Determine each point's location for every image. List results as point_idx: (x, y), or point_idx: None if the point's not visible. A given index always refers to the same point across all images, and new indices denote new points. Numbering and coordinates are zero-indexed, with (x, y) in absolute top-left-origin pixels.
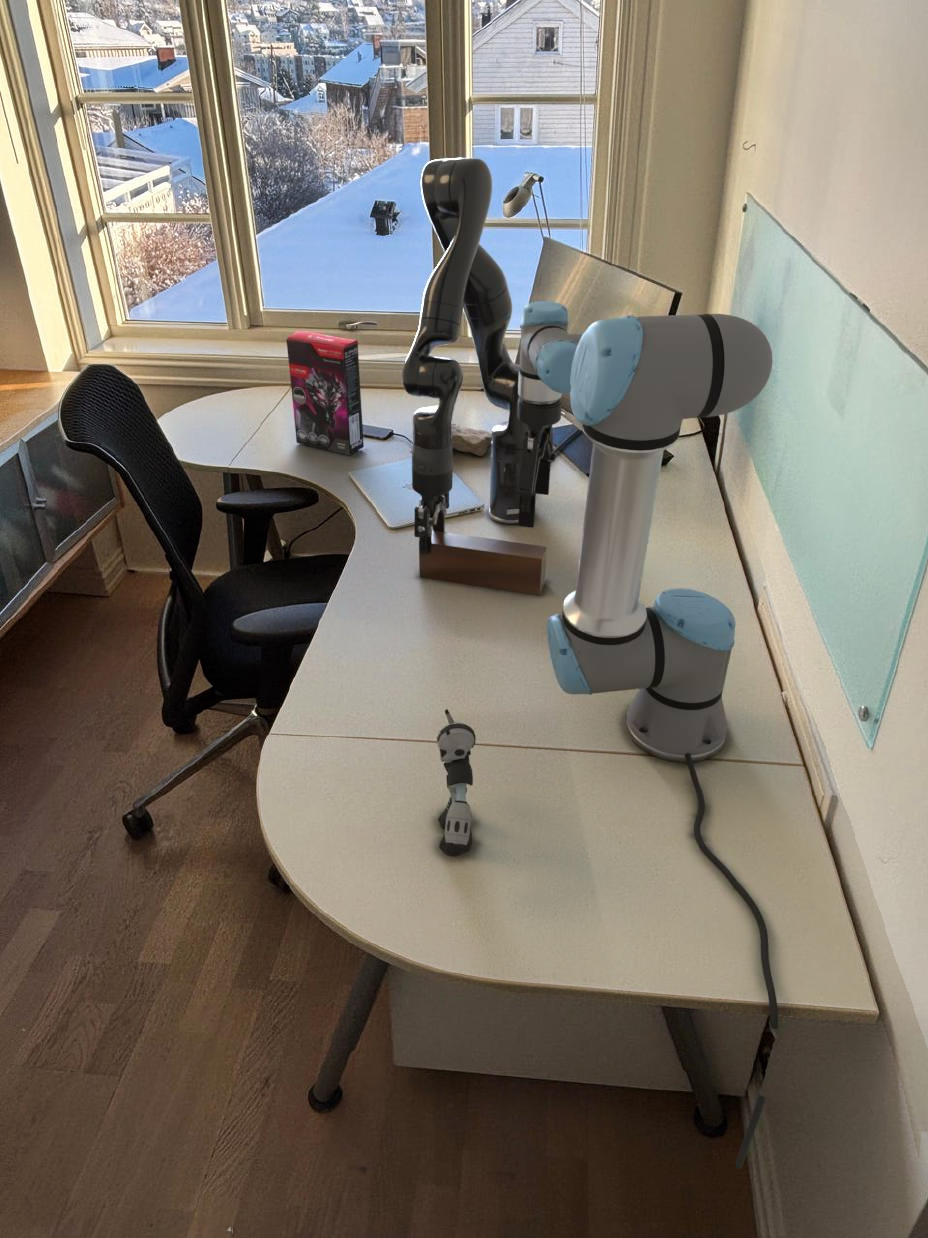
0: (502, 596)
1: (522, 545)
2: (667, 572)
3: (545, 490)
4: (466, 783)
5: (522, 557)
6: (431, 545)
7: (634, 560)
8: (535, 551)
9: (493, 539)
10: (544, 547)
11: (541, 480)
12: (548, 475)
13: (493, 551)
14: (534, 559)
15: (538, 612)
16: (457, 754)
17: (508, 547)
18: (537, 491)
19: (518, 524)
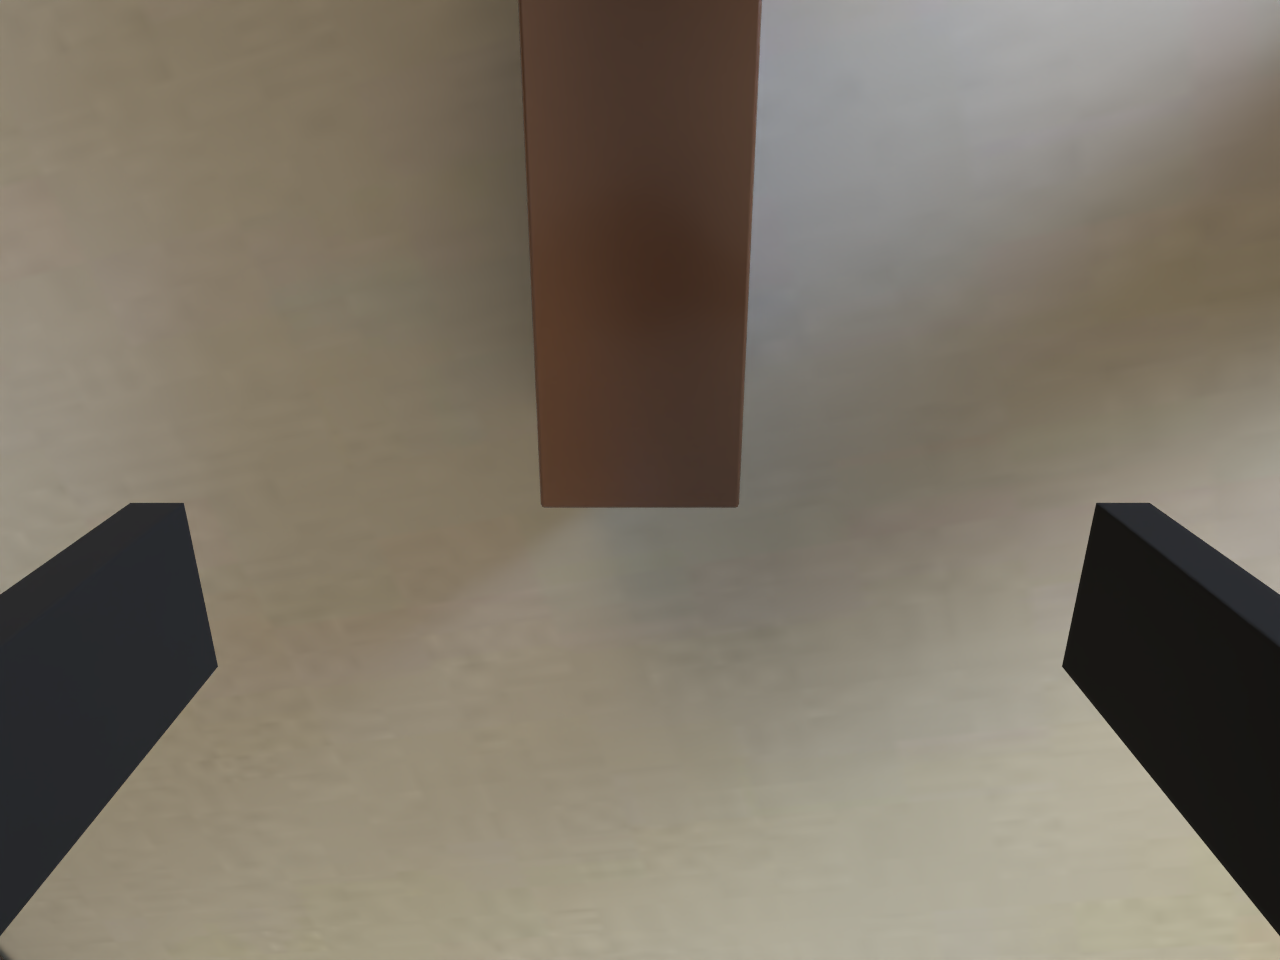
0: (487, 206)
1: (707, 327)
2: (938, 916)
3: (1097, 670)
4: None
5: (536, 362)
6: None
7: None
8: (638, 443)
9: (749, 46)
10: (717, 493)
11: (1194, 701)
12: (1234, 863)
13: (536, 104)
14: (539, 452)
15: (399, 441)
16: None
17: (642, 220)
18: (1100, 562)
19: (114, 515)
